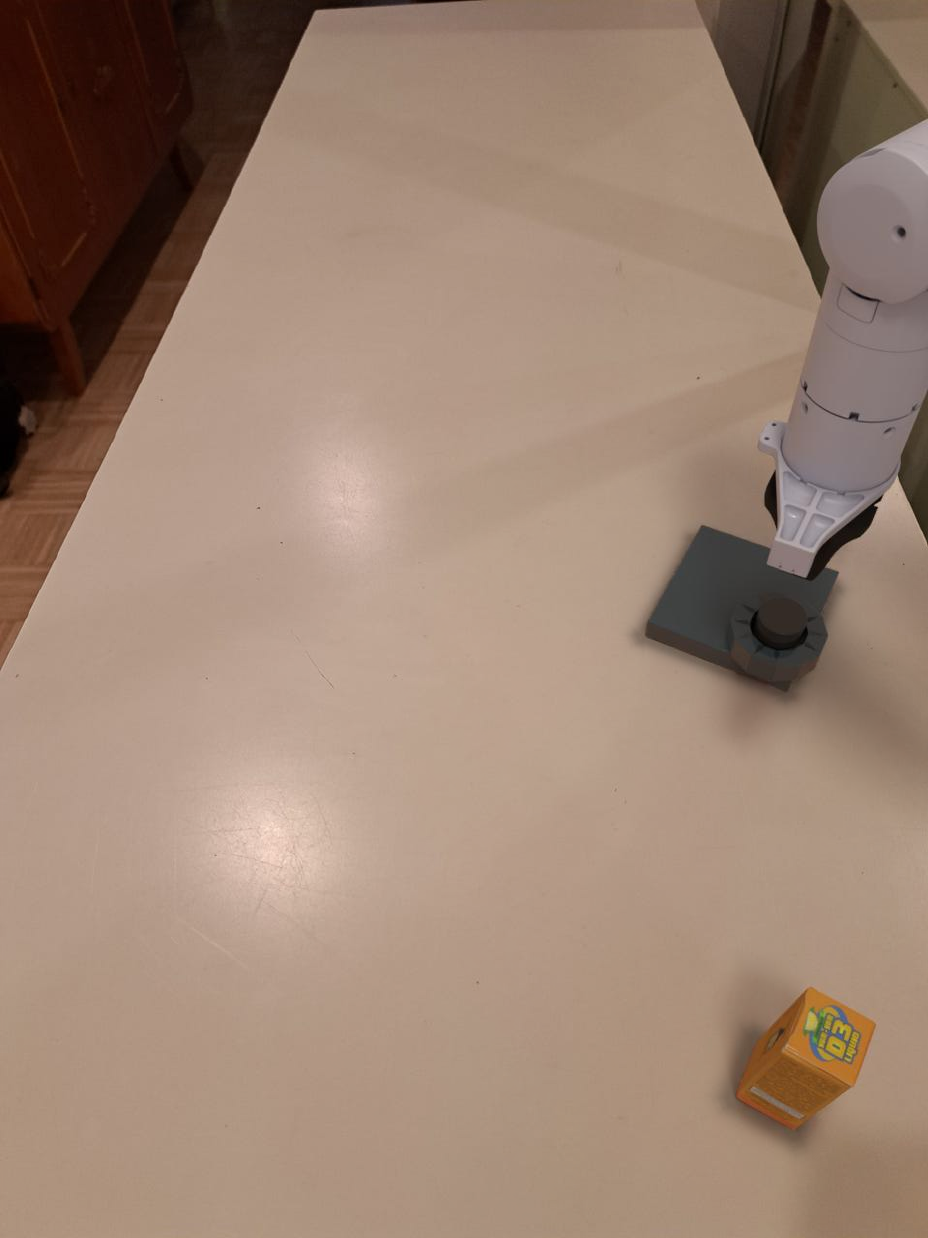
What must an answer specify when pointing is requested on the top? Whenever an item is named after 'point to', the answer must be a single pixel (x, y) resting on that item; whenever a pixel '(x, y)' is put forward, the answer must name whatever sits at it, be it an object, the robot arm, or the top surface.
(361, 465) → the top surface
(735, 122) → the top surface
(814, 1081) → the supplement box
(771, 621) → the dark brown short cylinder
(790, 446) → the robot arm
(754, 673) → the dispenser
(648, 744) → the top surface
